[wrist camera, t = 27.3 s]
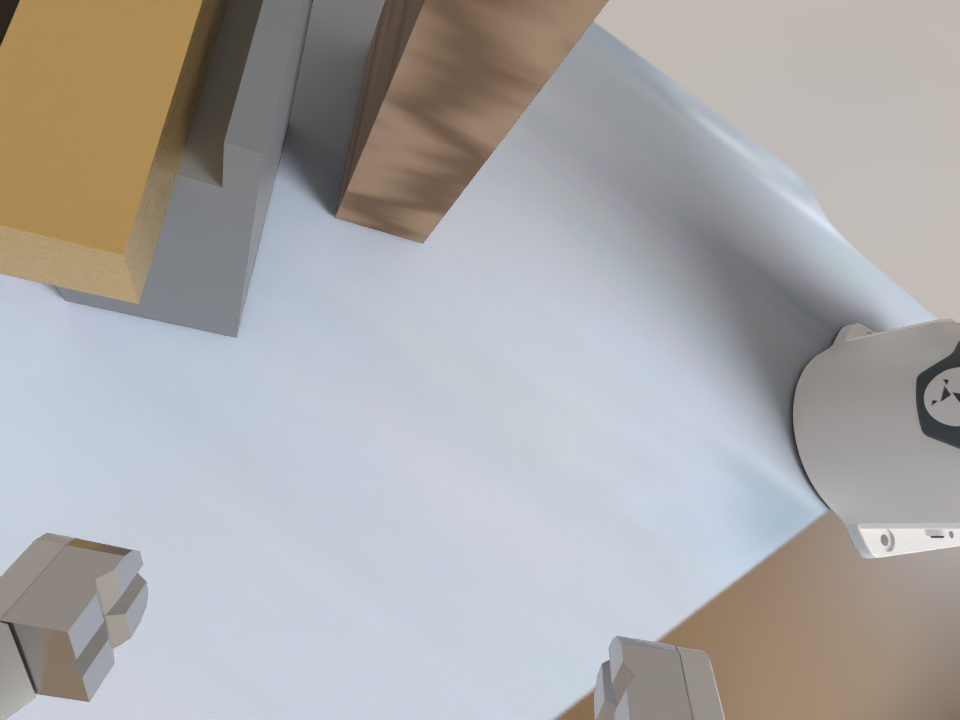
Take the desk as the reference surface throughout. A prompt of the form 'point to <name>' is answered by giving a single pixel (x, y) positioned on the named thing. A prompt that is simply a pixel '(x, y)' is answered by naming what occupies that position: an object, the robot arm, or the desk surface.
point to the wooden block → (96, 134)
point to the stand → (446, 100)
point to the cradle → (221, 171)
